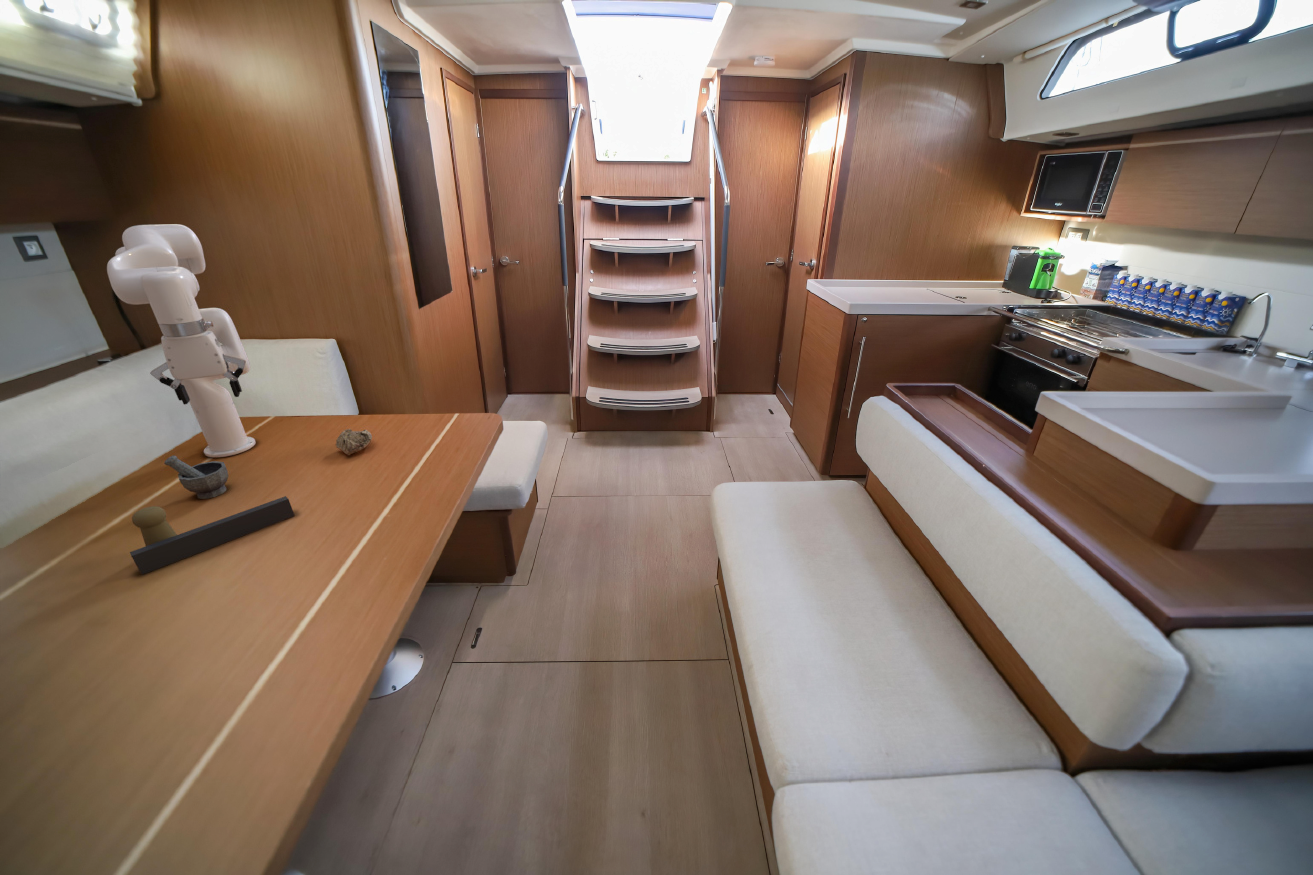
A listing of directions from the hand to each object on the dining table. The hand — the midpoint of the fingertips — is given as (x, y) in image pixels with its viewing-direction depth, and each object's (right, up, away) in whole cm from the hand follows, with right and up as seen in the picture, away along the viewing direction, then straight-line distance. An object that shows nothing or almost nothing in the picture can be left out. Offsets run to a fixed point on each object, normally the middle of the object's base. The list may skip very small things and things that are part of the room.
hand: (212, 398), depth 121 cm
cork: (-1, -35, -10) cm, 36 cm away
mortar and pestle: (-11, -24, +12) cm, 29 cm away
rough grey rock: (+14, -13, +35) cm, 40 cm away
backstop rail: (+8, -33, -6) cm, 35 cm away
